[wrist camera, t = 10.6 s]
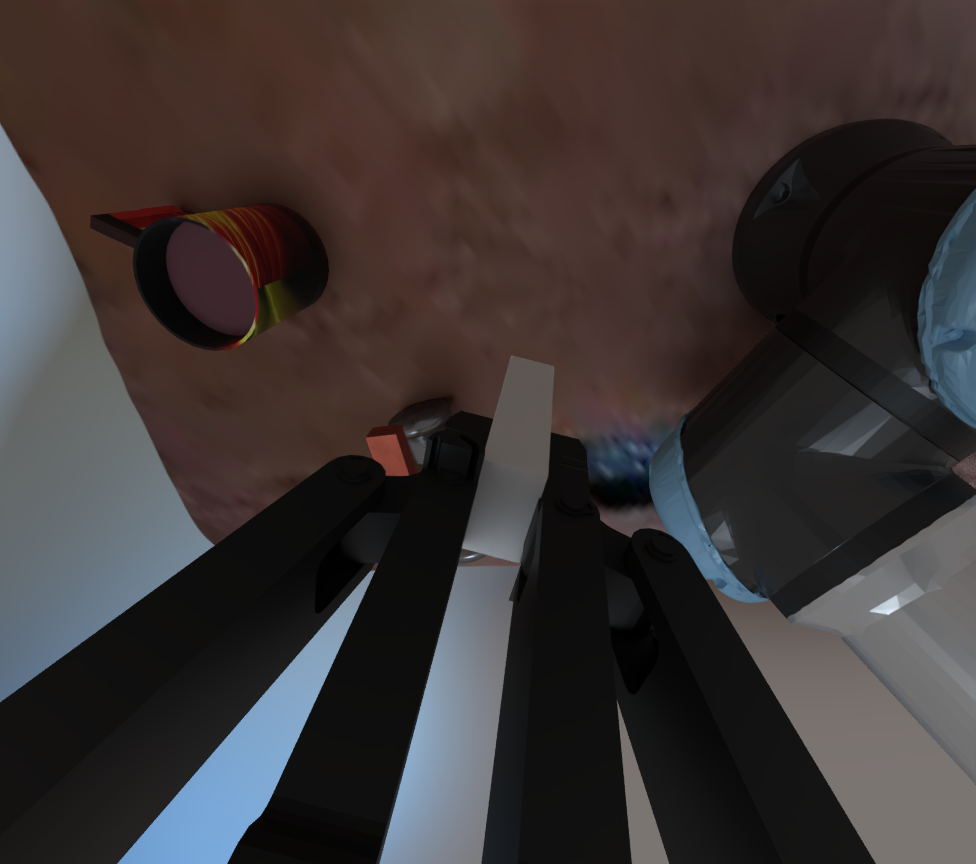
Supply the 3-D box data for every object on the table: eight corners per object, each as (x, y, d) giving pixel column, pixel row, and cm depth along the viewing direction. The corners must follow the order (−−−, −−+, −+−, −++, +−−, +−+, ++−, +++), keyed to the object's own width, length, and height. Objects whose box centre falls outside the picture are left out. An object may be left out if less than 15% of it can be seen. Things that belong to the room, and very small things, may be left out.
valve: (392, 408, 52) (361, 452, 44) (461, 392, 50) (441, 434, 42) (446, 529, 59) (428, 585, 52) (508, 519, 57) (499, 575, 49)
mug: (176, 204, 45) (59, 217, 34) (317, 202, 43) (238, 215, 32) (208, 308, 49) (113, 348, 39) (337, 310, 48) (273, 352, 37)
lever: (455, 532, 47) (445, 568, 43) (420, 535, 48) (407, 569, 44) (418, 406, 41) (402, 433, 37) (379, 411, 41) (359, 438, 37)
